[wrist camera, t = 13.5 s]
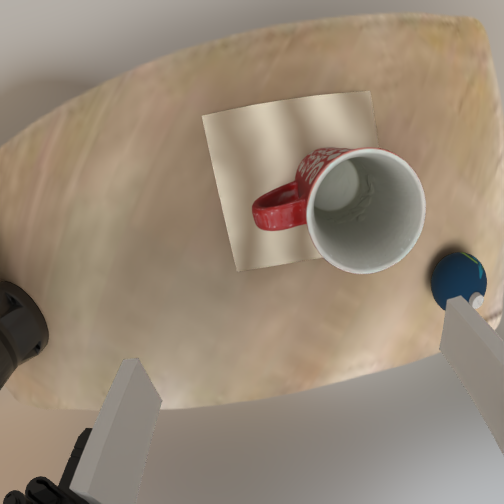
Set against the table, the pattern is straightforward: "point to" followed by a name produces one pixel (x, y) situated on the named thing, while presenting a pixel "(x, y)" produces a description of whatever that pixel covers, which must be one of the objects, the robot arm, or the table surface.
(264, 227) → the mug
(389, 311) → the table surface
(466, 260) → the christmas ornament
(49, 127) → the table surface
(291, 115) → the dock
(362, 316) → the table surface
